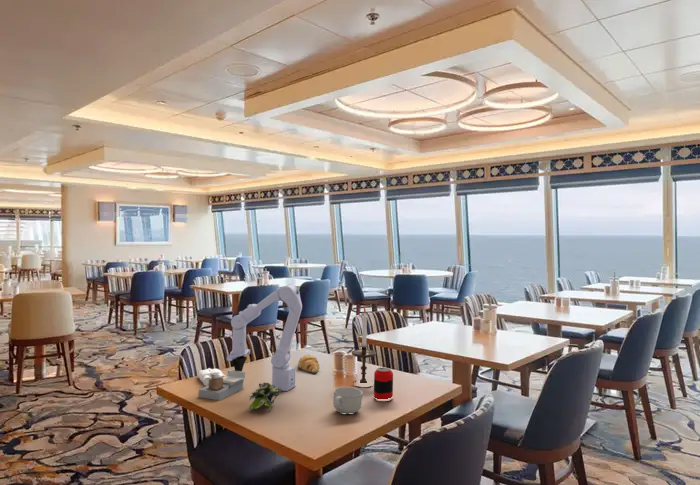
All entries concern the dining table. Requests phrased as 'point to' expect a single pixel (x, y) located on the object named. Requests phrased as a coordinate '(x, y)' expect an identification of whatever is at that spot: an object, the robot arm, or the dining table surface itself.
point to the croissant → (309, 364)
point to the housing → (221, 390)
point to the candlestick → (364, 349)
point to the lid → (233, 376)
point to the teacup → (347, 399)
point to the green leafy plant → (264, 395)
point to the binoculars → (208, 375)
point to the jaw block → (215, 383)
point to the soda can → (383, 383)
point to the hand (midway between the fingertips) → (238, 373)
